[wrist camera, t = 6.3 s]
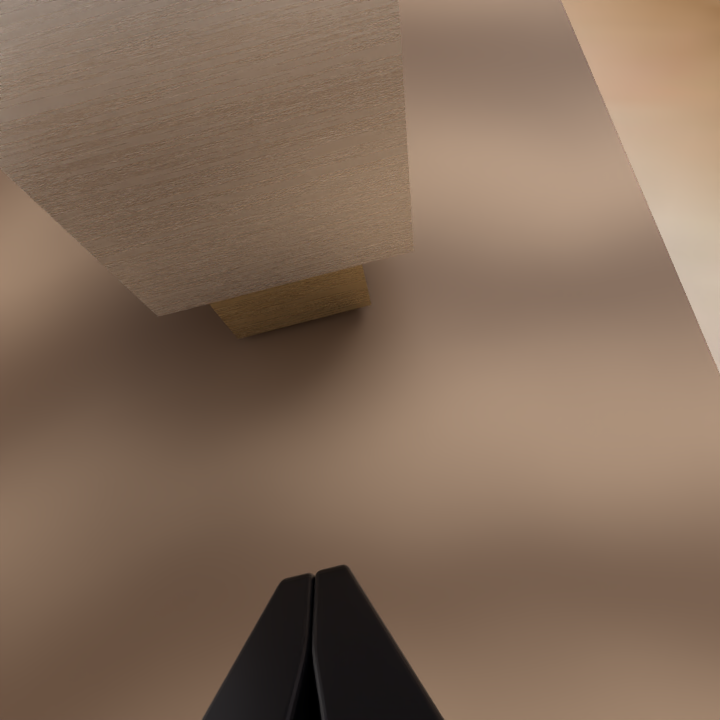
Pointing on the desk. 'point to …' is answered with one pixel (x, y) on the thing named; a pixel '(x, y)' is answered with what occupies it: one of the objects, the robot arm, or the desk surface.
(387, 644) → the robot arm
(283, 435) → the lock plate
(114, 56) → the white boxy piece
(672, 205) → the desk surface
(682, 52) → the desk surface
